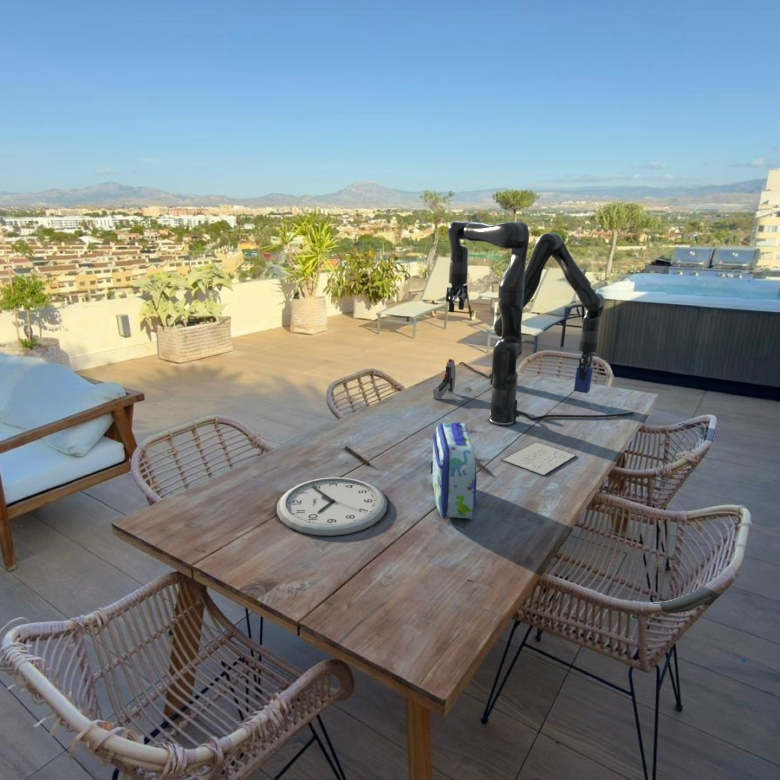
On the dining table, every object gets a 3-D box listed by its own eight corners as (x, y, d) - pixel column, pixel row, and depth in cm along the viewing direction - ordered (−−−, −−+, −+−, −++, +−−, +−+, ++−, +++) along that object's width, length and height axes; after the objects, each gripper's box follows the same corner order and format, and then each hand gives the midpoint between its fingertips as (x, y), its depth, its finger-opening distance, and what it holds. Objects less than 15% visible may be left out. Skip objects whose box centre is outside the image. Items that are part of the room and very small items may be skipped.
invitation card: (535, 442, 186) (575, 454, 176) (535, 442, 187) (575, 455, 176) (502, 459, 172) (543, 474, 162) (502, 460, 172) (543, 475, 162)
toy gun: (433, 366, 227) (451, 357, 238) (433, 400, 233) (450, 390, 244) (438, 367, 226) (455, 358, 237) (438, 401, 232) (455, 391, 243)
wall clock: (392, 527, 129) (268, 531, 127) (391, 533, 130) (269, 537, 127) (383, 473, 158) (282, 475, 155) (383, 478, 158) (282, 480, 156)
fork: (483, 474, 162) (483, 469, 161) (463, 454, 176) (463, 448, 176) (491, 474, 162) (491, 468, 162) (470, 453, 177) (470, 447, 176)
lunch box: (429, 478, 158) (432, 413, 152) (464, 479, 158) (468, 414, 152) (435, 525, 134) (438, 450, 127) (477, 526, 133) (482, 451, 127)
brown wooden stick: (344, 448, 179) (344, 445, 179) (346, 448, 179) (346, 445, 179) (367, 464, 167) (367, 462, 167) (368, 464, 167) (368, 461, 167)
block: (576, 388, 236) (579, 365, 233) (589, 391, 233) (592, 367, 230) (573, 390, 233) (576, 367, 230) (587, 393, 230) (590, 369, 227)
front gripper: (458, 270, 226) (456, 308, 231) (441, 272, 215) (440, 311, 220) (474, 271, 222) (471, 309, 226) (458, 273, 211) (455, 313, 215)
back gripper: (584, 336, 234) (579, 373, 239) (575, 341, 222) (570, 380, 227) (601, 338, 230) (596, 376, 235) (593, 344, 218) (587, 383, 223)
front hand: (456, 310), depth 223 cm, fingers open, 8 cm apart
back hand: (583, 377), depth 231 cm, fingers closed on block, 4 cm apart
